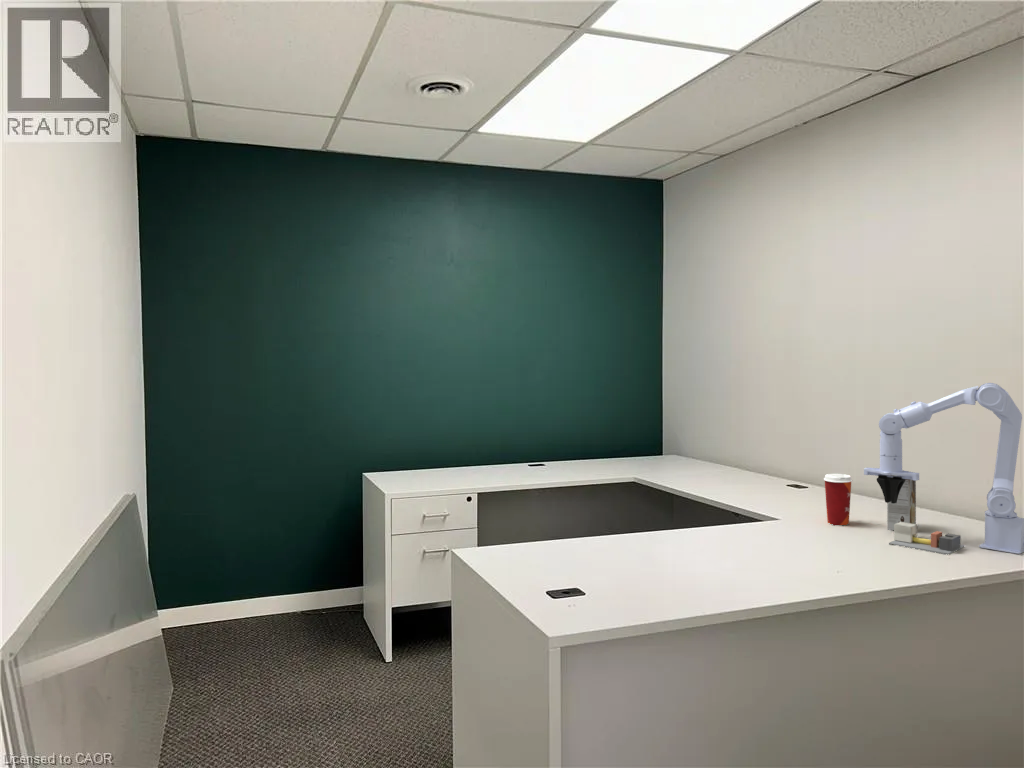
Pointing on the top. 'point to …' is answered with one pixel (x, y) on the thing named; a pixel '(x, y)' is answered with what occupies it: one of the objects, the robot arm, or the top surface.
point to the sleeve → (905, 531)
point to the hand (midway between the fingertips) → (891, 502)
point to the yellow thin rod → (921, 540)
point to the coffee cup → (838, 498)
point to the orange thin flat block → (935, 538)
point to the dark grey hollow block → (949, 542)
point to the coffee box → (903, 505)
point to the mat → (922, 546)
